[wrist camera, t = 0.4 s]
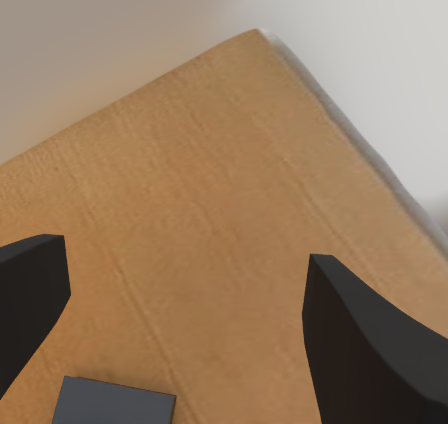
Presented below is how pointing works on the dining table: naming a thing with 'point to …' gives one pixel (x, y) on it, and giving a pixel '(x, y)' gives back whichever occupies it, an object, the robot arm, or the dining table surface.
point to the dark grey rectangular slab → (110, 404)
